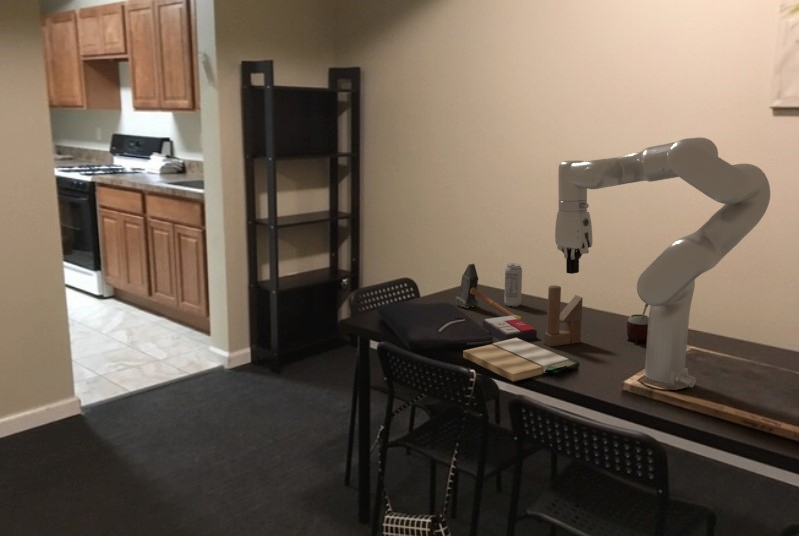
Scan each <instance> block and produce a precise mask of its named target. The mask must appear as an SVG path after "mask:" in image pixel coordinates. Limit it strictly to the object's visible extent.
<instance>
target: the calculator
mask: <svg viewBox="0 0 799 536" xmlns="http://www.w3.org/2000/svg"><path fill="white" fill-rule="evenodd" d="M483 328H484V329H485V330H487V331H488V332H489V333H488V334H490V333H491V334H492V335H491V336H493V337H494V336H495V337H494V338H496V339H498V340H499V339H500V340H499V341H500V342H501V341H505V340H509V339H513V338H518V339H521V340H523V341H531V340H535V339H536V340H537V337H538V336H537V332H538V331H537V330H536V329H535V328H534V327H532V326H531V325H529V324H527V323H526V322H524V320H523V321H521V320H519V319H516V318H515V317H513V316H506V315H504V316H500V317H499V316H498V317H492V318H485V319H483V320H482V329H483Z"/></svg>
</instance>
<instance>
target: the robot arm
mask: <svg viewBox="0 0 799 536" xmlns="http://www.w3.org/2000/svg"><path fill="white" fill-rule="evenodd" d="M718 151H719V150H718V147H717V145H716V144H715V143H714V141H712V140H711V139H709V138H706V137H687V138H683V139H682V138H681V139H680V140H678V141H675V142H669V143H665V144H659V145H653V146H649V147H646V148H643V149H642V151H639V152H636V153H630V154H626V155H622V156H621V155H620V156H616V157H609V158H601V159H593V160H592V159H591V160H586V161H583V160H564V161H561V162H560V163H559V164H558V169H557V170H558V179H557V181H558V186H557V187H558V211H557V214H556V219H555V226H554V227H555V229H554V230H555V232H554V233H555V234H554V236H555V237H554V239H555V240H554V241H555V244H556V245H557V248H556V249H557V250H558V251H560V252H562V253H563V255H564V256H563V257H564V258H565V260H566V265H565V266H566V267H565V268H566V273H567V274H571V275H573V274H578V273H579V272H580V259H581V257H582V256H583V255H585V254H589V248H592V247H593V227H592V226H593V225H592V220H591V215H590V212H589V211H588V208H589V207H590V206H589V205H590V204H589V203H588V190H598V189H599V190H600V189H604V188H608V187H609V188H610V187H611V188H612V187H614V186H615V187H616V186H621V185H627V184H632V183H638V182H649V183H650V182H658V181H663V180H668V179H674V178H675V179H676V178H680V179H681V180H683V181H684V182H685V183H687V184H689V186H692V187H693V188H695V189H696V190H698V191H699V192H700V193H702V194H703V195H706V196H707V197H708V198H710V199H711V200H713V201H715V202H717V203H720V204H724V205H723V206H721V208H720V209H718V210H717V211H716V212H715V213H714V214H712V215H711V217H710V218H709V219H708V220H707V221H706V222H705V223H704V224H703V225H702V226H701V227H699V228H698V229H697V230H696V231H695V232H693V233H691V234H687V235H685V236H683V237H680V238H678V239H676V240H674V242H672V243H671V244H670V245H668V246H667V248H665V249H664V250H663V252H662V253H661V254H659V256H657V257H656V258H655V259H654V260H653V262H652V263H651V264H649V265H648V267H646V268H645V270H643V271H642V273H641V274H640V276H638V279H637V281H636V282H637V283H636V292H637V295H638V298H639V299H640V300H641V301H642V302H643V303H645V304H648V306H650V307H649V312H648V317H649V321H648V334H647V344H646V349H645V351H646V352H645V361H644V362H645V364H644V365H645V366H644V370H642V371H640V372H639V373H638V375H639V374H640V373H642V372H643V371H645V376H646V377H648V378H649V379H652V380H655V381H659V382H664V383H671V384H673V385H674V384H684V385H686V386H689V387H688V388H693V387H694V386H695V384H696V382H697V377H696V376H692V375H690V374H689V368H687V367H686V360H687V357H686V356H687V347H688V345H687V344H688V335H689V324H690V314H691V313H690V311H691V307H692V301H693V297H694V291H695V286H696V285H695V284H696V279H698V277H700V276H701V275H702V274H705V273H706V272H708V271H710V270H712V269H713V268H715V267H716V266H717V265H718V264H719V263H720V262H721V260H723V259H724V257H726V256H727V254H729V253H730V252H731V251H732V250H733V249H734V248H735V247H736V246H737V245H738V244H739V243H740V242H741V241H742V240H743V239H744V238H745V237H746V236H747V235H748V234H750V232H751V231H752V230H753V229H754V228H755V227H756V226H757V225H758V224H759V223H760V221H761V220H762V218H763V217H764V216H765V214H766V213H767V210H768V208H769V204H770V201H771V187H770V182H769V180H768V178H767V175H766V173H765V172H764V170H762V169H761V168H760V167H758V166H757V165H754V164H752V163H737V164H731V163H729V162H727V161H726V160H724V159H722V158H721V157H720V156H719V152H718Z"/></svg>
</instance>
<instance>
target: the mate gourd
mask: <svg viewBox="0 0 799 536" xmlns="http://www.w3.org/2000/svg"><path fill="white" fill-rule="evenodd" d="M648 307H649V305H648V304H646V303H645V305H644V309H643V312H642V314H631V315H630V316H629V317H628V319H627V321H626V334H627V339H626V340H627V342H632V343H634V345H635V346H638V345H639V344H640V343H641V344H646V345H647V334H648V321H649V315H645V313H646V311H647V308H648Z"/></svg>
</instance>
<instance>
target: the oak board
mask: <svg viewBox="0 0 799 536" xmlns="http://www.w3.org/2000/svg"><path fill="white" fill-rule="evenodd" d="M462 352H463V353H462V357H463V358H464V359H465V360H468V361H470V362H472V363H475V364H476V365H478V366H481V367H483V368H484V369H487V370H488V371H491V372H492V373H494V374H497V375H499V376H501V377H503V378H505V379H507V380H510V381H511V382H517V381H520V380H525V379H529V378H532V377H536V376H540V375H543V372H542V367H541V366H539V365H537V364H535V363H532V362H530V361H528V360H525V359H523V358H521V357H519V356H516V355H514V354H512V353H509V352H507V351H505V350H503V349H500V348H498V347H496V346H493V345H492V344H487V345H484V346H483V345H482V346H478V347H474V348H470V349H469V348H468V349H465V350H463V351H462Z"/></svg>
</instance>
